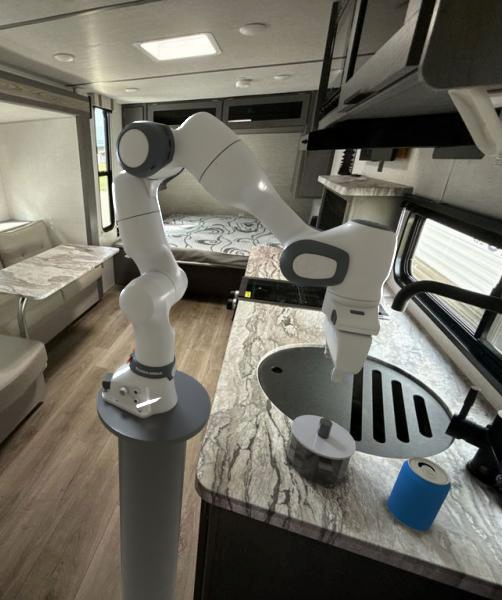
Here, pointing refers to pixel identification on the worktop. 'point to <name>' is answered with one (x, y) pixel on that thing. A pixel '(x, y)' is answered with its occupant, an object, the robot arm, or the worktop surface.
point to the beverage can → (419, 493)
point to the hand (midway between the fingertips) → (331, 368)
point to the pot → (315, 463)
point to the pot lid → (323, 437)
